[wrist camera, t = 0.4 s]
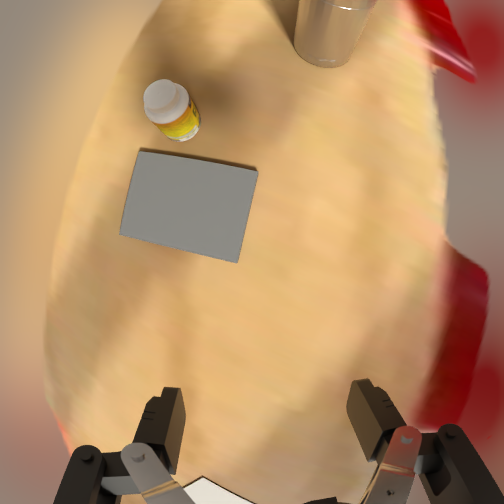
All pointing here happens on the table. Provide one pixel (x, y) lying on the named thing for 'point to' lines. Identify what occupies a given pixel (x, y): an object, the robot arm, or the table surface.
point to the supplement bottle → (171, 110)
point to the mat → (189, 204)
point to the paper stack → (211, 494)
